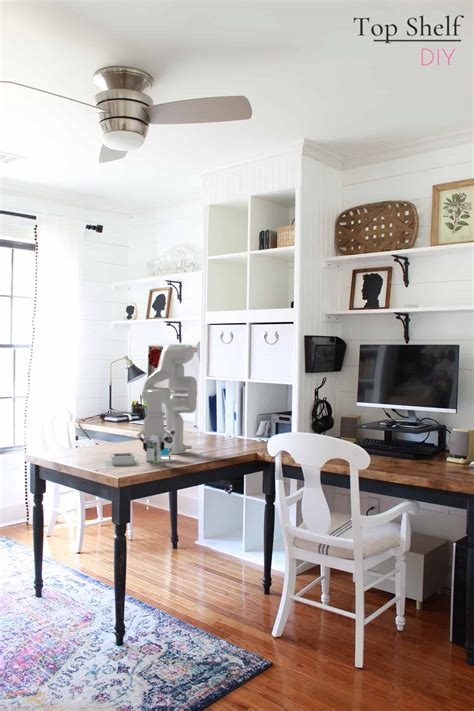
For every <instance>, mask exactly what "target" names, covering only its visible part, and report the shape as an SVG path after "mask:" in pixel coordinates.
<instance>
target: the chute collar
mask: <svg viewBox="0 0 474 711" xmlns="http://www.w3.org/2000/svg"><path fill="white" fill-rule="evenodd" d="M135 457H136V456H135V454H134V453H133V452H118V453H115V452H114V453H110V461H111V463H112V465H134V460H135Z"/></svg>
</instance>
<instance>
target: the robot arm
mask: <svg viewBox="0 0 474 711" xmlns="http://www.w3.org/2000/svg"><path fill="white" fill-rule="evenodd" d="M194 355H195V349H194V347H193V345H192V344H166V345H163V347H162V350H161V352H160V356H159V360H158V364H157V369H156V371H153V373H152V374H150V375H149V377H148V378H146V380H145V382H144V384H143V388H142V392H141V398H142V401H143V402H144V403H146V405H145V406H146V410H145V412H146V417H144V419H143V427H142V428H143V429H142V430H141V431H140V432H138V433H137V435H136V436H137V438H138V439H139V440H140V441H141V443H142V445H143V446H142V449H143V450H144V452H146V449H147V444H146V441H147V439H148V438H151V435H157V434H158V438H161V440H162V442H161V450H162V451H163V449H164V443H165V441H166V440H167V439H168V438H169V436H170V435H171V434H170V433H169V432H167V431H170V432H171V431H172V430H174V431H175V434H174V439H175V441H174V444H173V446H172V447H171V455H181V454H185V453H187V451H186V450H192V445H185V443H184V418H183V416H182V415H181V414H193V413H195V412H196V411H197V404H198V403H197V402H198V381H197V379H196V377H194V376H191V375H190V376H187V375H185V366H184V364H188V363H189V362H191V360H192V359H193V358H194ZM165 380H168V389H167V388H159V387H158V388H157V387H154V386H155V385H156V384H158V383H160V382H163V381H165ZM153 387H154V388H153ZM171 393H174V394H176V395H171ZM177 394H186V395H177ZM163 404H164V406H165V407H164V409H165V412H163V411H162V410H163ZM163 416H165V418H166V419H165V420H166V422H164V417H163ZM165 423H166V427H165ZM164 433H166V434H167V436H166V437H165V438H163V437H164ZM142 435H143V437H142Z"/></svg>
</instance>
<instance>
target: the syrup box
mask: <svg viewBox="0 0 474 711" xmlns="http://www.w3.org/2000/svg"><path fill="white" fill-rule="evenodd" d="M146 444H147V449H146V451H145V453H146V454H145V462H146V463H150V464H152V463H153V464H157V463H160V462H162V459H161V438H158V434H157V435H151V438H148V439H147V441H146Z"/></svg>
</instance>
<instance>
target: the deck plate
mask: <svg viewBox="0 0 474 711" xmlns="http://www.w3.org/2000/svg"><path fill="white" fill-rule="evenodd" d="M104 463H105V466H106V467H127V466H128V467H129V466H130V467H131V466H133V467H134V466H141V464H140V461H139V460H138V459H134V465H112V463H111V460H105V461H104Z"/></svg>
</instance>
